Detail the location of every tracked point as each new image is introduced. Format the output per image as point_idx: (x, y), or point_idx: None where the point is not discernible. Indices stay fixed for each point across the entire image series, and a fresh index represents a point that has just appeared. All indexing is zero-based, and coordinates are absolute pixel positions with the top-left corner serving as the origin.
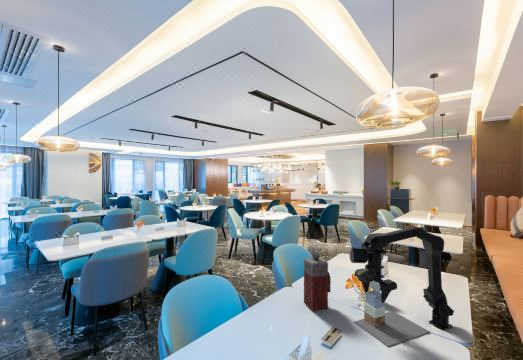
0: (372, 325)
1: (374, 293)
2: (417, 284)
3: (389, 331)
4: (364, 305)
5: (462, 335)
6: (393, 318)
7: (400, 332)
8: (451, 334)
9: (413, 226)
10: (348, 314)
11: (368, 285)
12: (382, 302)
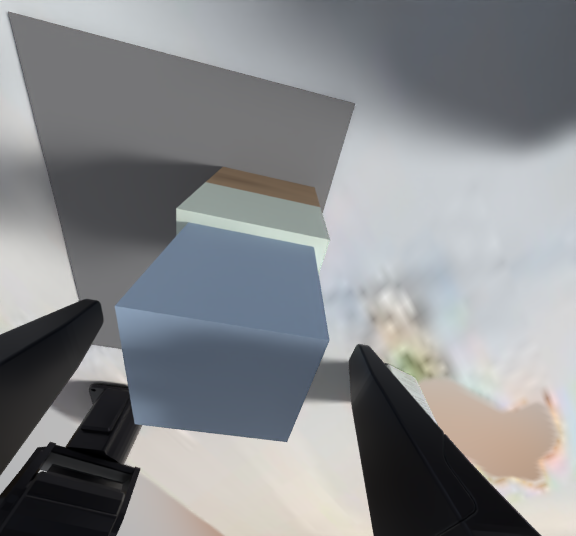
0: (243, 172)
1: (213, 382)
2: (322, 519)
3: (153, 203)
4: (323, 227)
5: None
6: None
7: (124, 243)
8: None
9: None
10: (432, 172)
11: (372, 484)
12: (79, 301)
